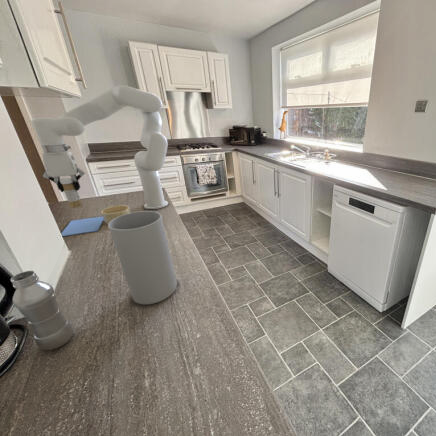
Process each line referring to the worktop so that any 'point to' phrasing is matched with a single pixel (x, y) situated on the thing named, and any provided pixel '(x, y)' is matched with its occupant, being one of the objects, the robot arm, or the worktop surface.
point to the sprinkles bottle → (71, 192)
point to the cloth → (83, 226)
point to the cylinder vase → (144, 255)
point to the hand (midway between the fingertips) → (70, 190)
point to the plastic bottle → (41, 310)
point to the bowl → (114, 212)
